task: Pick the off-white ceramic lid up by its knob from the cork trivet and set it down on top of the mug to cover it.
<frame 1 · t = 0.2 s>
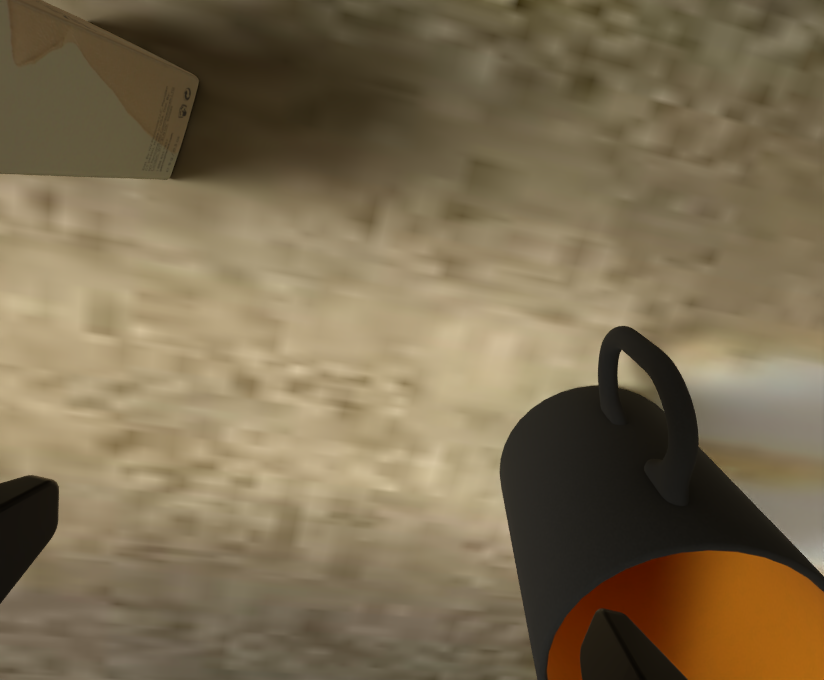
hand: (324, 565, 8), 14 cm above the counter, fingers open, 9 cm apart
box: (128, 103, 20), on the counter
mug: (590, 430, 23), on the counter
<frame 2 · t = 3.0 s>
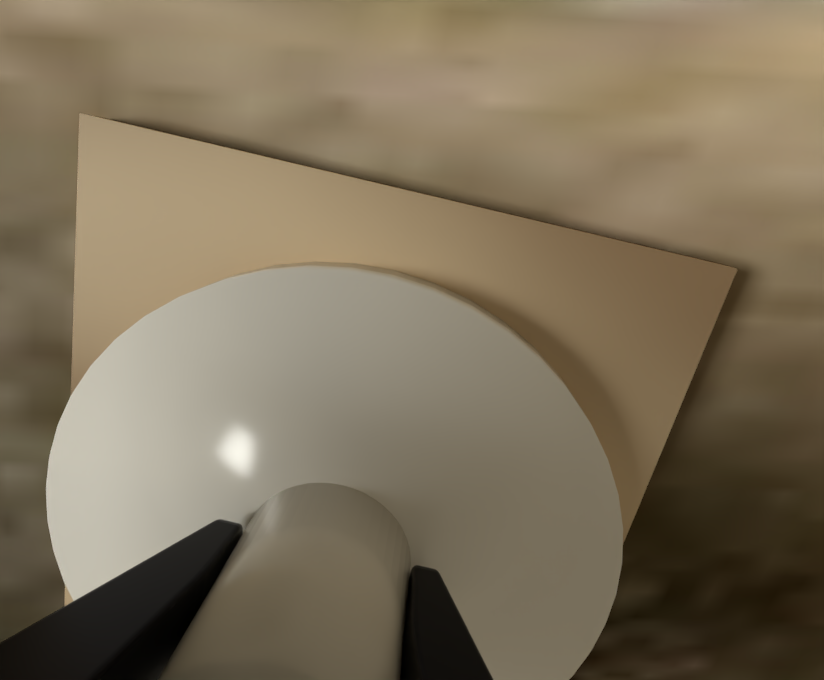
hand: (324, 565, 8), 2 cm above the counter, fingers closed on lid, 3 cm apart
trivet: (343, 506, 10), on the counter
lid: (336, 526, 9), point 1 cm above the counter, touching gripper, trivet
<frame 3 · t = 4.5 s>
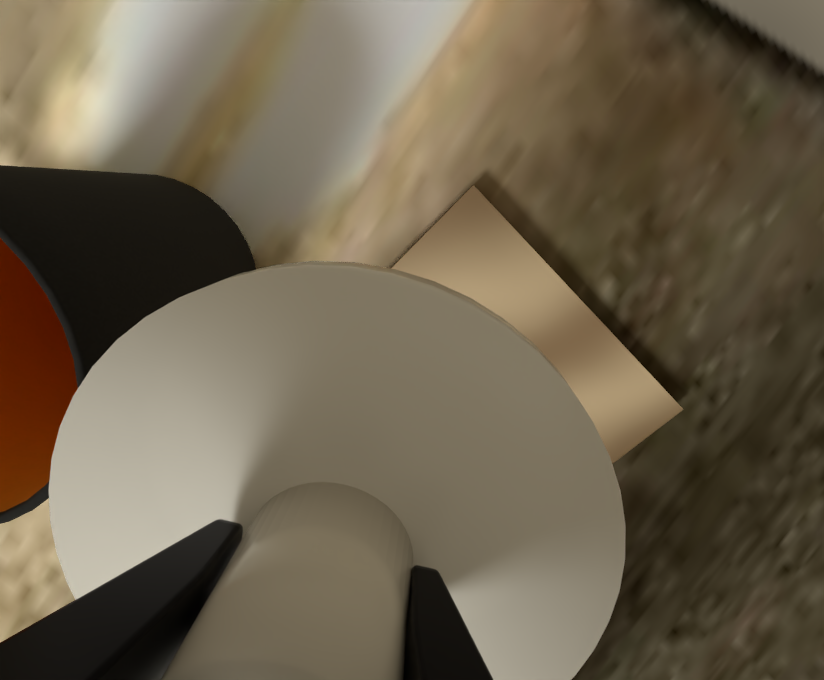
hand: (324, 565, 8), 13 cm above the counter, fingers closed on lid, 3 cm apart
mug: (119, 259, 21), on the counter
trivet: (484, 383, 21), on the counter
lid: (339, 525, 9), point 12 cm above the counter, touching gripper
when the fingers open (13 cm above the counter, at t = 5.8 s): lid drops 2 cm, resting on mug.
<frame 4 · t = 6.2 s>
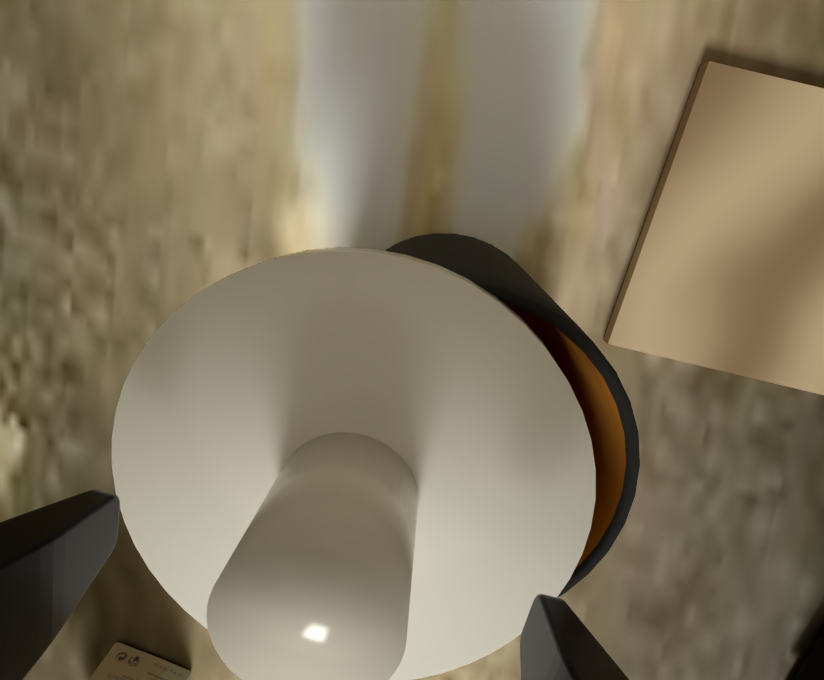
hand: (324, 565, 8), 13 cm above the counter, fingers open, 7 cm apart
mug: (396, 338, 21), on the counter, touching lid
trivet: (806, 250, 19), on the counter
lid: (354, 474, 11), point 10 cm above the counter, touching mug
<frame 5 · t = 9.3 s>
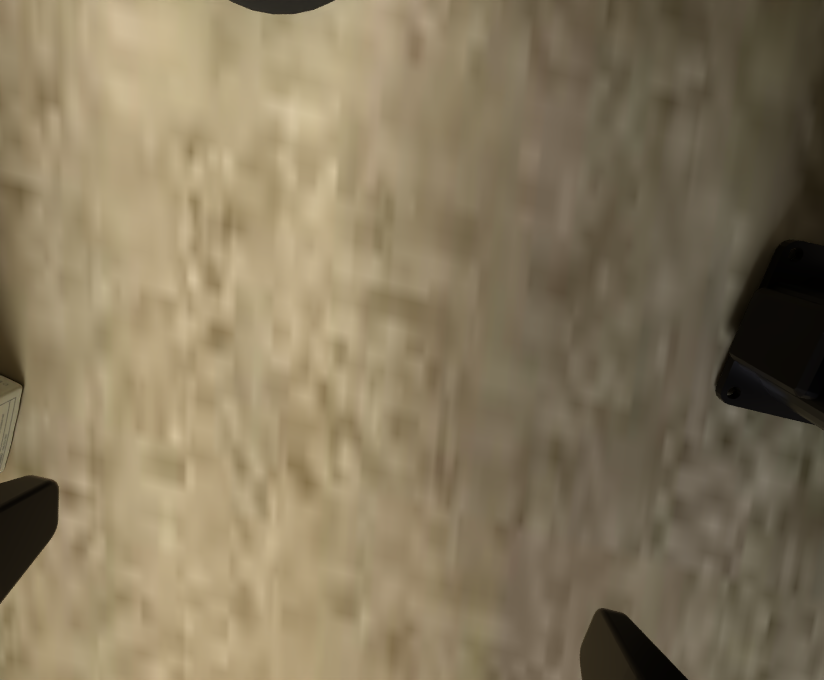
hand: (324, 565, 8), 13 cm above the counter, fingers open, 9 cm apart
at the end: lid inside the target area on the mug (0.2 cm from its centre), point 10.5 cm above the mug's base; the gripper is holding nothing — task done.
